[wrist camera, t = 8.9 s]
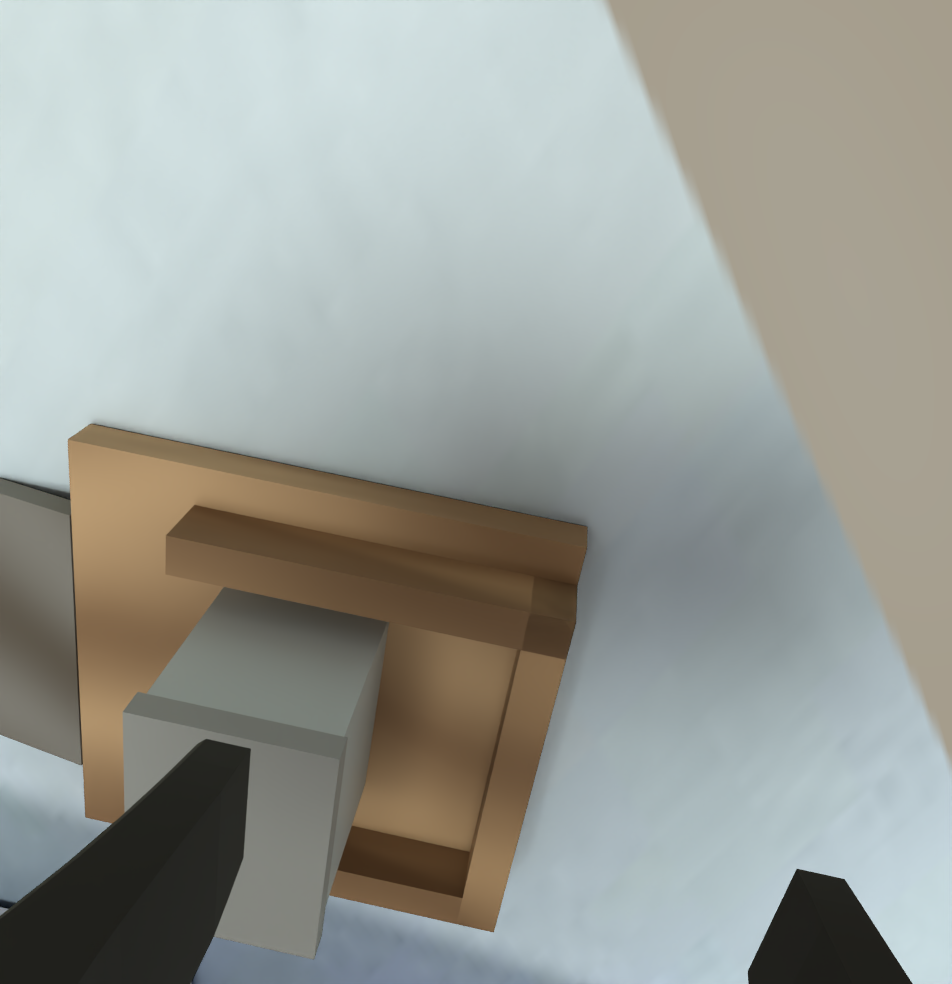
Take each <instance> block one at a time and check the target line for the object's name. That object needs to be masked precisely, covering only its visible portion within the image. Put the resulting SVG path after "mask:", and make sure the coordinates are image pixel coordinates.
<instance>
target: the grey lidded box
mask: <svg viewBox="0 0 952 984" xmlns="http://www.w3.org/2000/svg"><path fill="white" fill-rule="evenodd" d="M388 626H389V622H386V621H381V620H377V619H372V618H367V617H363V616H358V615H353V614H348V613H344V612H339V611H334V610H330V609H325V608H320V607H316V606H311V605H306V604H302V603H297V602H292V601H287V600H283V599H278V598H273V597H269V596H264V595H259V594H255V593H250V592H245V591H241V590H236V589H231V588H227V587H223V589H222V590H221V591H220V593H219V594H218V596H217V597H216V598H215V600H214V601H213V603H212V604H211V605H210V607H209V608H208V609H207V611H206V612H205V614H204V615H203V616H202V618H201V619H200V620H199V622H198V623H197V625H196V626H195V627H194V629H193V630H192V631H191V633H190V634H189V636H188V637H187V638H186V640H185V641H184V642H183V644H182V645H181V647H180V648H179V649H178V651H177V652H176V653H175V655H174V656H173V658H172V659H171V660H170V662H169V663H168V664H167V666H166V667H165V669H164V670H163V671H162V673H161V674H160V675H159V677H158V678H157V680H156V681H155V682H154V684H153V685H152V687H151V688H150V689H149V691H148V692H147V693H141V692H137V693H136V695H135V696H134V697H133V699H132V700H131V701H130V703H129V704H128V705H127V707H126V708H125V709H124V711H123V760H124V811H125V812H126V811H127V810H128V809H129V808H130V807H132V806H133V805H134V804H135V803H136V802H137V801H138V800H139V799H140V798H141V797H142V796H144V795H145V794H146V793H147V792H148V791H149V790H150V789H151V788H152V787H153V786H154V785H155V784H156V783H158V782H159V781H160V780H161V779H162V778H163V777H164V776H165V775H166V774H167V773H168V772H169V771H170V770H171V769H172V768H173V767H174V766H175V765H176V764H177V763H178V762H179V761H180V760H181V759H182V758H183V757H184V756H185V755H186V754H187V753H188V752H189V751H190V750H192V749H193V748H194V747H195V746H196V745H197V744H198V743H199V742H201V741H203V740H205V739H209V740H214V741H219V742H223V743H228V744H232V745H237V746H241V747H246V748H250V749H251V754H250V769H249V784H248V799H247V813H246V828H245V843H244V858H243V860H242V863H241V866H240V869H239V871H238V874H237V877H236V879H235V882H234V885H233V888H232V890H231V893H230V896H229V898H228V901H227V904H226V906H225V909H224V911H223V914H222V917H221V919H220V922H219V924H218V927H217V930H216V932H215V935H214V937H218V938H222V939H226V940H231V941H235V942H239V943H244V944H248V945H253V946H257V947H261V948H266V949H270V950H274V951H279V952H283V953H288V954H292V955H296V956H301V957H305V958H309V959H314V958H315V955H316V952H317V948H318V945H319V942H320V939H321V936H322V930H323V922H324V914H325V907H326V903H327V900H328V897H329V894H330V891H331V888H332V885H333V882H334V879H335V876H336V872H337V869H338V866H339V863H340V860H341V857H342V854H343V851H344V848H345V845H346V842H347V839H348V835H349V832H350V829H351V826H352V823H353V820H354V817H355V814H356V811H357V808H358V805H359V802H360V798H361V795H362V792H363V789H364V786H365V781H366V774H367V768H368V761H369V754H370V747H371V741H372V734H373V727H374V720H375V714H376V707H377V700H378V693H379V687H380V680H381V673H382V666H383V660H384V653H385V646H386V639H387V633H388Z"/></svg>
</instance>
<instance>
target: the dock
mask: <svg viewBox="0 0 952 984" xmlns="http://www.w3.org/2000/svg"><path fill="white" fill-rule="evenodd" d="M68 456H69V477H70V498H71V500H68V499H65V498H62V497H58V496H55V495H52V494H49V493H46V492H43V491H39V490H36V489H33V488H30V487H27V486H24V485H20V484H17V483H14V482H11V481H8V480H5V479H1V478H0V735H3V736H5V737H8V738H11V739H13V740H16V741H19V742H21V743H24V744H26V745H29V746H32V747H34V748H37V749H40V750H42V751H45V752H47V753H50V754H53V755H55V756H58V757H61V758H63V759H66V760H69V761H71V762H74V763H76V764H79V765H82V764H83V776H84V797H85V817H86V818H91V819H95V820H100V821H104V822H109V823H114V822H115V821H116V820H117V819H118V818H119V817H121V816H122V815H123V814H124V813H125V811H124V760H123V711H124V709H125V708H126V707H127V705H128V704H129V703H130V701H131V700H132V699H133V697H134V696H135V695H136V693H137V692H141V693H147V692H148V691H149V689H150V688H151V687H152V685H153V684H154V682H155V681H156V680H157V678H158V677H159V675H160V674H161V673H162V671H163V670H164V669H165V667H166V666H167V664H168V663H169V662H170V660H171V659H172V658H173V656H174V655H175V653H176V652H177V651H178V649H179V648H180V647H181V645H182V644H183V642H184V641H185V640H186V638H187V637H188V636H189V634H190V633H191V631H192V630H193V629H194V627H195V626H196V625H197V623H198V622H199V620H200V619H201V618H202V616H203V615H204V614H205V612H206V611H207V609H208V608H209V607H210V605H211V604H212V603H213V601H214V600H215V598H216V597H217V596H218V594H219V593H220V591H221V590H222V589H223V587H227V588H231V589H236V590H241V591H245V592H250V593H255V594H259V595H264V596H269V597H273V598H278V599H283V600H287V601H292V602H297V603H302V604H306V605H311V606H316V607H320V608H325V609H330V610H334V611H339V612H344V613H348V614H353V615H358V616H363V617H367V618H372V619H377V620H381V621H386V622H389V626H388V633H387V639H386V646H385V653H384V660H383V666H382V673H381V680H380V687H379V693H378V700H377V707H376V714H375V720H374V727H373V734H372V741H371V747H370V754H369V761H368V768H367V774H366V781H365V786H364V789H363V792H362V795H361V798H360V802H359V805H358V808H357V811H356V814H355V817H354V820H353V823H352V826H351V829H350V832H349V835H348V839H347V842H346V845H345V848H344V851H343V854H342V857H341V860H340V863H339V866H338V869H337V872H336V876H335V879H334V882H333V885H332V888H331V891H330V894H329V895H330V896H335V897H339V898H344V899H348V900H353V901H357V902H361V903H366V904H370V905H375V906H379V907H384V908H388V909H392V910H397V911H401V912H406V913H410V914H415V915H419V916H423V917H428V918H432V919H437V920H441V921H446V922H450V923H454V924H459V925H463V926H468V927H472V928H477V929H481V930H485V931H490V932H494V929H495V925H496V922H497V918H498V914H499V910H500V907H501V903H502V899H503V895H504V891H505V888H506V884H507V880H508V876H509V873H510V869H511V865H512V861H513V858H514V854H515V850H516V846H517V843H518V839H519V835H520V831H521V828H522V824H523V820H524V816H525V812H526V809H527V805H528V801H529V797H530V794H531V790H532V786H533V782H534V779H535V775H536V771H537V767H538V764H539V760H540V756H541V752H542V749H543V745H544V741H545V737H546V733H547V730H548V726H549V722H550V718H551V715H552V711H553V707H554V703H555V700H556V696H557V692H558V688H559V685H560V681H561V677H562V673H563V669H564V666H565V662H566V658H567V654H568V651H569V647H570V643H571V639H572V636H573V632H574V628H575V624H576V608H577V584H578V581H579V577H580V573H581V569H582V565H583V561H584V558H585V554H586V550H587V527H586V526H581V525H576V524H571V523H566V522H562V521H557V520H552V519H547V518H542V517H537V516H533V515H528V514H523V513H518V512H513V511H509V510H504V509H499V508H494V507H489V506H484V505H480V504H475V503H470V502H465V501H460V500H455V499H451V498H446V497H441V496H436V495H431V494H427V493H422V492H417V491H412V490H407V489H402V488H398V487H393V486H388V485H383V484H378V483H373V482H369V481H364V480H359V479H354V478H349V477H345V476H340V475H335V474H330V473H325V472H320V471H316V470H311V469H306V468H301V467H296V466H291V465H287V464H282V463H277V462H272V461H267V460H263V459H258V458H253V457H248V456H243V455H238V454H234V453H229V452H224V451H219V450H214V449H209V448H205V447H200V446H195V445H190V444H185V443H181V442H176V441H171V440H166V439H161V438H156V437H152V436H147V435H142V434H137V433H132V432H127V431H123V430H118V429H113V428H108V427H103V426H99V425H94V424H90V425H88V426H87V427H85V428H84V429H82V430H81V431H79V432H78V433H77V434H75V435H74V436H72V437H71V438H69V439H68Z"/></svg>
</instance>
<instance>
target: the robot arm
mask: <svg viewBox="0 0 952 984" xmlns="http://www.w3.org/2000/svg"><path fill="white" fill-rule="evenodd" d="M250 754H251V749H250V748H246V747H241V746H237V745H232V744H228V743H223V742H219V741H214V740H209V739H205V740H203V741H201V742H199V743H198V744H197V745H196V746H195V747H194V748H193V749H192V750H190V751H189V752H188V753H187V754H186V755H185V756H184V757H183V758H182V759H181V760H180V761H179V762H178V763H177V764H176V765H175V766H174V767H173V768H172V769H171V770H170V771H169V772H168V773H167V774H166V775H165V776H164V777H163V778H162V779H161V780H160V781H159V782H158V783H156V784H155V785H154V786H153V787H152V788H151V789H150V790H149V791H148V792H147V793H146V794H145V795H144V796H142V797H141V798H140V799H139V800H138V801H137V802H136V803H135V804H134V805H133V806H132V807H130V808H129V809H128V810H127V811H126V812H125V813H124V814H123V815H122V816H121V817H119V818H118V819H117V820H116V821H115V822H114V823H112V824H111V825H110V826H109V827H108V828H107V829H106V830H104V831H103V832H102V833H101V834H100V835H99V836H97V837H96V838H95V839H94V840H93V841H92V842H91V843H89V844H88V845H87V846H86V847H85V848H84V849H82V850H81V851H80V852H79V853H78V854H77V855H76V856H74V857H73V858H72V859H71V860H70V861H68V862H67V863H66V864H65V865H64V866H62V867H61V868H60V869H59V870H57V871H56V872H55V873H54V874H52V875H51V876H50V877H48V878H47V879H46V880H45V881H43V882H42V883H41V884H40V885H38V886H37V887H36V888H35V889H33V890H32V891H31V892H29V893H28V894H27V895H26V896H24V897H23V898H22V899H21V900H19V901H18V902H17V903H16V904H14V905H13V906H12V907H11V908H9V909H7V908H3V907H0V984H191V981H192V979H193V977H194V975H195V973H196V971H197V969H198V967H199V965H200V963H201V961H202V959H203V957H204V955H205V953H206V951H207V949H208V947H209V945H210V943H211V941H212V939H213V937H214V935H215V932H216V930H217V927H218V924H219V922H220V919H221V917H222V914H223V911H224V909H225V906H226V904H227V901H228V898H229V896H230V893H231V890H232V888H233V885H234V882H235V879H236V877H237V874H238V871H239V869H240V866H241V863H242V860H243V858H244V843H245V828H246V813H247V799H248V784H249V769H250ZM748 981H749V984H912V982H911V981H910V979H909V978H908V976H907V975H906V973H905V972H904V970H903V969H902V967H901V965H900V964H899V962H898V961H897V959H896V958H895V956H894V955H893V953H892V952H891V950H890V949H889V947H888V945H887V944H886V942H885V941H884V939H883V938H882V936H881V935H880V933H879V932H878V930H877V928H876V927H875V925H874V924H873V922H872V921H871V919H870V918H869V916H868V915H867V913H866V911H865V910H864V908H863V907H862V905H861V904H860V902H859V901H858V899H857V898H856V896H855V894H854V893H853V891H852V890H851V888H850V887H849V885H848V884H847V882H846V881H845V879H841V878H836V877H832V876H827V875H823V874H818V873H814V872H809V871H805V870H800V869H797V870H796V872H795V874H794V876H793V878H792V880H791V882H790V884H789V886H788V888H787V891H786V893H785V895H784V897H783V899H782V901H781V903H780V905H779V907H778V909H777V911H776V914H775V916H774V918H773V920H772V922H771V924H770V926H769V928H768V930H767V932H766V934H765V937H764V939H763V941H762V943H761V945H760V947H759V949H758V951H757V953H756V955H755V958H754V960H753V962H752V964H751V966H750V968H749V970H748Z"/></svg>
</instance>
